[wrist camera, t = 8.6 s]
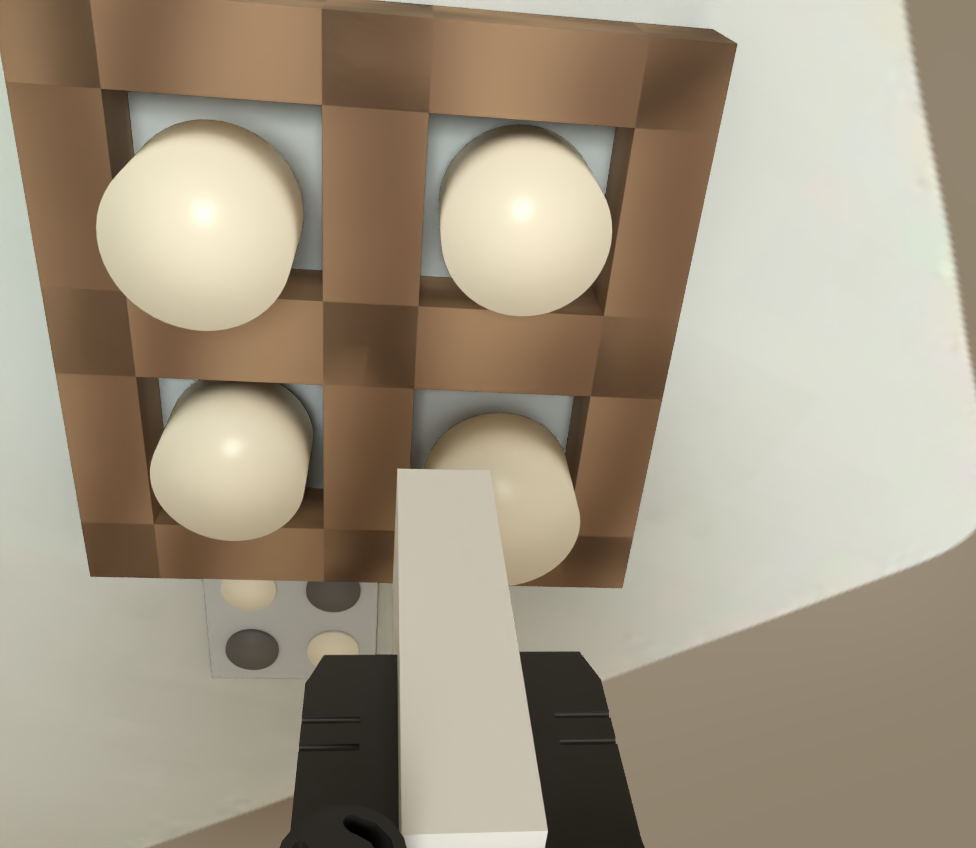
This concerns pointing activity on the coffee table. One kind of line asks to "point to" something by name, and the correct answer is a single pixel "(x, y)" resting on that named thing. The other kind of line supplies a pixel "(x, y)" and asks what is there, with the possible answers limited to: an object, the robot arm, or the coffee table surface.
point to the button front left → (201, 226)
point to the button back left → (233, 459)
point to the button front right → (522, 221)
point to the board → (360, 255)
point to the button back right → (518, 487)
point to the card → (286, 625)
